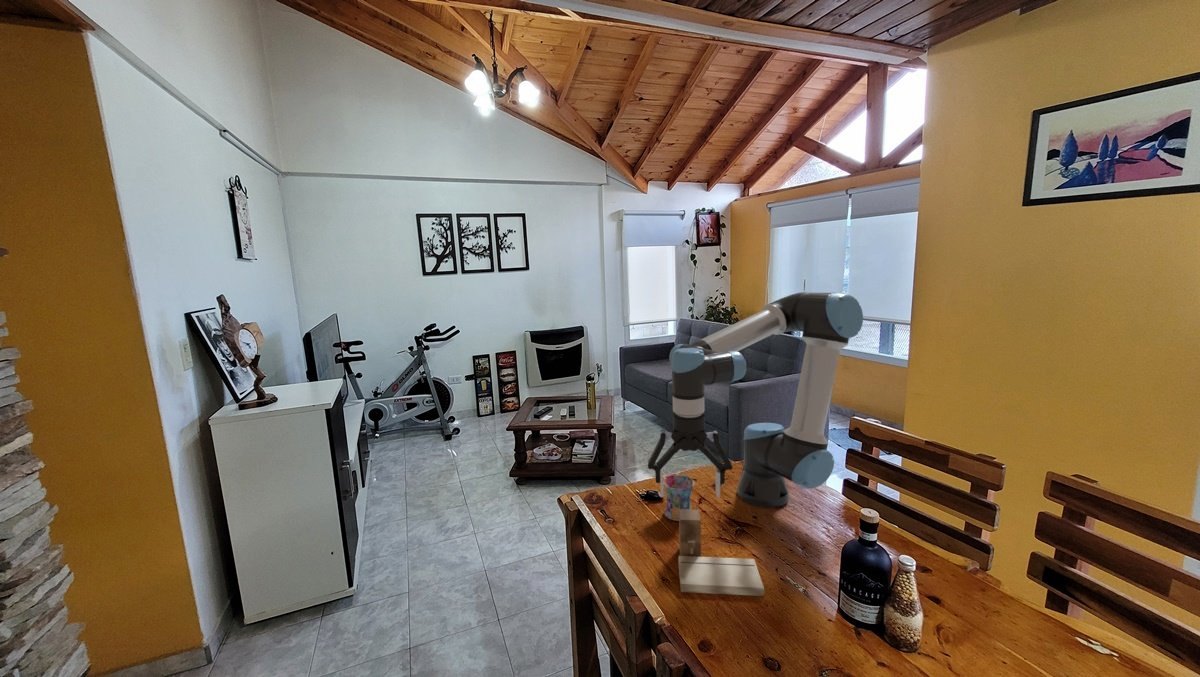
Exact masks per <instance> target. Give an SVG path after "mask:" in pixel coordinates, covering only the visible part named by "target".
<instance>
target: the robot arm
mask: <svg viewBox="0 0 1200 677" xmlns="http://www.w3.org/2000/svg"><path fill="white" fill-rule="evenodd" d="M863 315H864V314H863V309H862V306H861V305H860V302H859V301H858V299H856V298H855V296H853V295H851V294H848V293H841V292H840V293H839V292H809V291H806V292H805V291H802V292H795V293H792V294H790V295H786V296H784V297H781V298H779V299H777V300H774V301H772V302H770V303H768V304H765V305H764V306H763V307H762V308H761V309H760V311H759V312H757V313H755V314H753V315H749V316H747V317H746V318H744V319H742V320H740V321H738V322H736V323H733V324H731V325H729V326H727V327H724V328H723V329H720V330H718V331H716V332H713V333H712V334H710V335H707V336H705V337H703V338H701V339H700V340H697V341H694V342H693V343H689V344H687V343H678V344H675V345H674V346H673V347H672V348H671V350H670V352H669V356H668V358H669V363H670V365H671V367H670V368H671V383H672V386H671V387H672V390H671V391H672V412H673V414H672V431H671V432H668V431H666V430H664V429H661V430H660V434H659V439H658V441H657V444H656V445H655V448H654V449H653V450H652V454H651V456H650V457H649V459H648V462H647V468H648V469H649V470H653V471H654V474H655V476H654V478H655V484H660V486H659V487H660V498H664V497H665V493H664V490H665V488H664V485H663V479H664V467H665V466H666V465H667V463H669V461H670V460H671V459H672V458H673V456H674V455H675V454H677V453H678V452H680V450H681V451H683V452H687V451H692V452H696V451H698V450H700V452H701V453H703V454H704V455H705V456H706V458H708V460H709V461H710V462H711V464H713V465H714V466H715V469H714V470H715V474H714V476H715V495H716V498H717V499H721V485H724V484H725V482H726V480H725V475H726V474H725V473H726V472H727V471H728V470H729V471H732V470H733V468H734V466H733V465H732V463H731V461H730V459H729V457H728V455H727V453H726V451H725V449H724V448H723V445H722V444H721V442H720V438H719V434H718V431H717V430H716V429H713V430H712V431H709V432H706V431H705V430H706V429H705V427H706V425H705V424H706V420H705V387H710V386H714V385H720V384H725V383H726V384H727V383H733V382H735V381H739V380H741V379H743V378H744V377H745V375H746V374H747V373H746V372H747V361H746V359H745V358H744V355H743V354H742V353H741V352H739V351H741V350H743V349H745V348H748V347H750V346H751V345H753V344H756V343H757V342H759V341H762V340H764V339H766V338H768V337H770V336H772V335H776V336H778V335H782V334H784V333H786V332H802V336H801V338H802V340H803V341H804V342H805V344H806V345H805V346H806V347H805V350H804V355H803V361H802V365H801V371H800V376H799V381H798V385H797V392H796V396H795V401H794V407H793V411H792V415H791V416H792V417H791V423H790V426H789V427H788V428H786V429H785V428H784V426H783V425H782V424H779V423H774V422H759V423H751V424H748V425H747V426H746V427H745V428H744V432H743V434H744V435H743V439H742V440H743V471H742V474H741V476H740V478H739V482H738V484H737V495H738V497H739V499H740V500H742V501H743V502H745V503H747V504H750V505H752V506H755V507H760V508H767V509H771V508H773V509H774V508H779V507H783V506H785V505H786V504H787V503H788V502H789V499H790V497H789V496H790V494H789V492H790V491H789V489H788V485H787V482H786V480H789V481H790V482H792V483H793V484H795V485H797V486H801V487H804V488H805V489H812V490H813V489H817V488H818V487H821V486H822V485H824V483H825V482H827V481H828V479H829V478H830V476H831V475H832V473H833V470H834V467H835V459H834V455H833V454H832V453H831V451H829V450H828V445H829V441H828V439H827V438H826V437H825V434H824V433H825V428H826V423H827V419H828V413H829V408H830V404H831V403H830V402H831V398H832V392H833V389H834V388H833V387H834V384H835V378H836V372H837V368H838V363H839V359H840V353H841V350H842V349H843V348H846V347H847V346H848V344H849V341H850V340H849V339H851V338H854V337H856V336H857V335H859V332H860V331H861V329H862V327H863V323H864V316H863ZM669 439H672V441H673V443H672V444H671V446H670V447H669V448H668V449H667V450H666V452H665V453H663V455H662V456H661V457H660V458H659V456H660V454H661V453H662V450H663V449H664V447H665V444H666V442H668V441H669ZM707 439H709V440H710V442H713V443H714V445H715V448H716V450H717V452H718V453H719V455H720V457H721V458H722V459H721V460H723V462H722V461H720V460H719V458H718V457H717V456H716V455H715V454H714V453H713V451H712V450H710V449H709V447H708V446H707V445H706V443H704V442H705V441H706V440H707ZM658 458H659V459H658ZM657 460H658V461H657Z"/></svg>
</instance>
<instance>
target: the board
mask: <svg viewBox="0 0 1200 677" xmlns="http://www.w3.org/2000/svg"><path fill="white" fill-rule="evenodd" d="M677 558H678V562H677V563H678V575H679V586H680V592H681V593H695V594H697V593H698V594H711V595H712V594H717V595H734V596H755V597H756V596H757V597H765V587H764V584H763V580H762V578H761V575H760V572H759V570H758V566H757V563H756V561H755V560H756V559H755V558H743V557H742V558H739V557H738V558H737V557H716V556H715V557H714V556H701V557H695V556H680V555H678V557H677Z"/></svg>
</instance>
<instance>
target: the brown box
mask: <svg viewBox="0 0 1200 677" xmlns="http://www.w3.org/2000/svg"><path fill="white" fill-rule="evenodd" d="M678 538H679V540H678V541H679V546H678V547H679V556H695V557H702V519H701V513H700V510H699V509H692V508H691V509H679V521H678Z"/></svg>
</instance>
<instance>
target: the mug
mask: <svg viewBox="0 0 1200 677" xmlns="http://www.w3.org/2000/svg"><path fill="white" fill-rule="evenodd" d="M695 483H696V482H695V481H694V479H693V478H691V477H690V476H687V475H684V474H671V475H667V476H665V477H663V485H664V490H665V494H666V505H665V508H664V510H663V513H664V514H663V515H664V516H665V517H666V518H667V519H669V520H671V521H675V522H679V509H692V505H691V496H692V495H691V494H692V491H693V489H694V486H695Z"/></svg>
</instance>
